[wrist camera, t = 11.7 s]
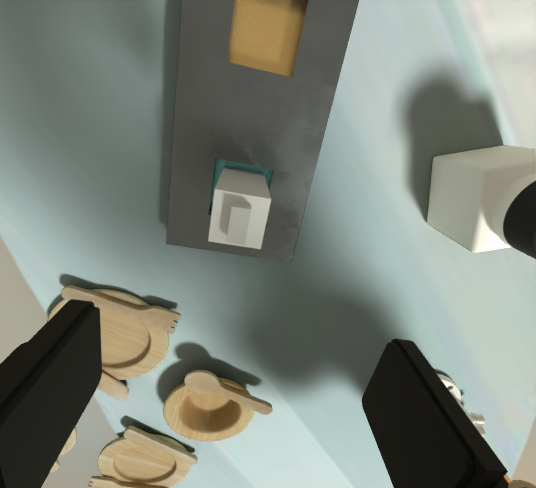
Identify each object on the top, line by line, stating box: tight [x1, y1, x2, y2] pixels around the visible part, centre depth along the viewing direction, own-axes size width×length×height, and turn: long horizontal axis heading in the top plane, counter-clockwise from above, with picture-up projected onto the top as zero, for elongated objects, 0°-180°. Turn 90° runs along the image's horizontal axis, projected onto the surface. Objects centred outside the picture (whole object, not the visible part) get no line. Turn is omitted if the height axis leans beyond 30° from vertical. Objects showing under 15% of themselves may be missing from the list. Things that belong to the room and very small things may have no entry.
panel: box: [166, 0, 359, 262], centre depth 24 cm, size 12×24×2 cm, turn 169°
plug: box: [208, 165, 271, 249], centre depth 23 cm, size 4×4×10 cm
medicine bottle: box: [427, 145, 536, 259], centre depth 24 cm, size 7×7×12 cm
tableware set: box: [47, 285, 272, 488], centre depth 37 cm, size 35×29×4 cm
